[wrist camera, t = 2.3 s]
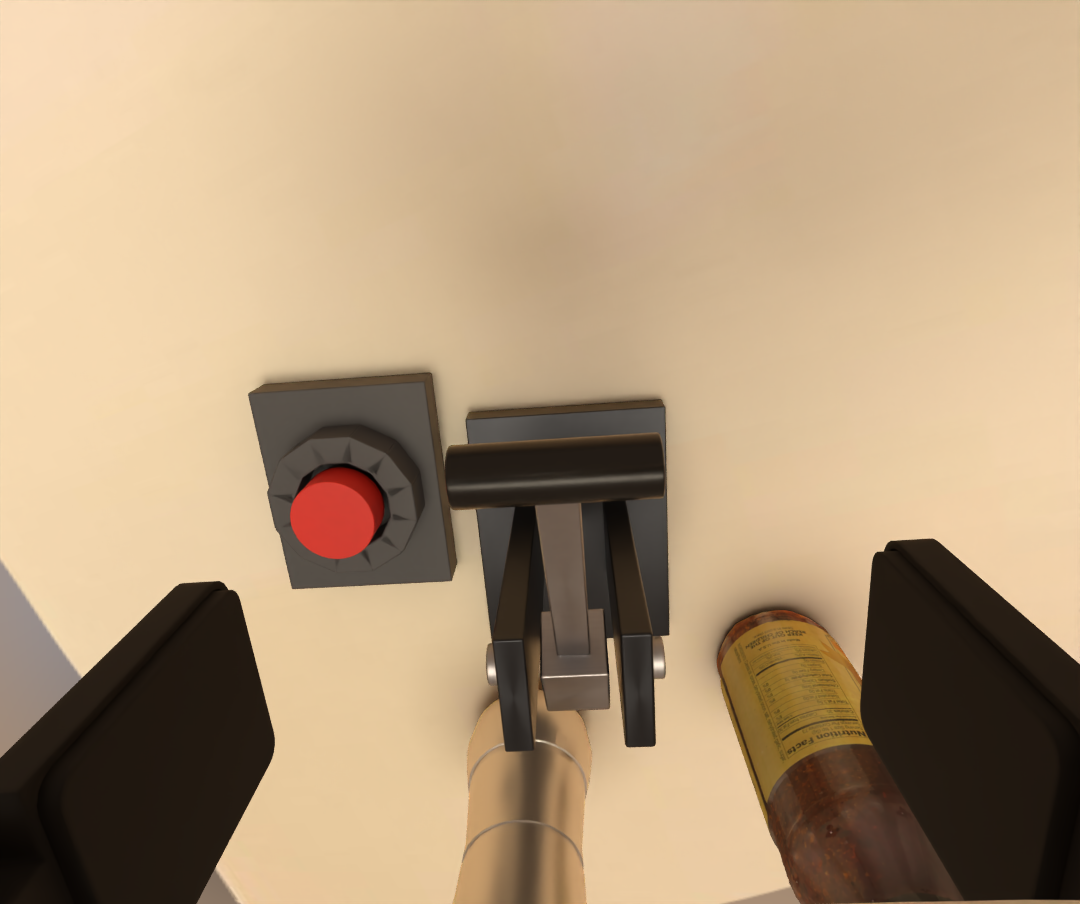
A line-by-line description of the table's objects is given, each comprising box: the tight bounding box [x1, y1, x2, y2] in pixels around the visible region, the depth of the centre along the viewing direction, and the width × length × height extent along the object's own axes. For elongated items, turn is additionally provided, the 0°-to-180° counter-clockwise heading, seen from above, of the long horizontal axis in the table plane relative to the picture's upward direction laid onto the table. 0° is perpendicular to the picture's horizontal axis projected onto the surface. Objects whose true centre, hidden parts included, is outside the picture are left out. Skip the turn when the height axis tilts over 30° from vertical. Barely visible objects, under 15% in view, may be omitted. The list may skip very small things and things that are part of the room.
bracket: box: [466, 400, 669, 752], centre depth 28 cm, size 12×9×13 cm
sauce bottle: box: [717, 610, 964, 904], centre depth 27 cm, size 7×6×20 cm
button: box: [290, 467, 384, 559], centre depth 30 cm, size 4×4×2 cm
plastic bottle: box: [453, 690, 592, 904], centre depth 29 cm, size 6×7×20 cm
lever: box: [445, 432, 665, 711], centre depth 20 cm, size 12×5×2 cm, turn 3°
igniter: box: [248, 373, 457, 589], centre depth 32 cm, size 10×8×4 cm
